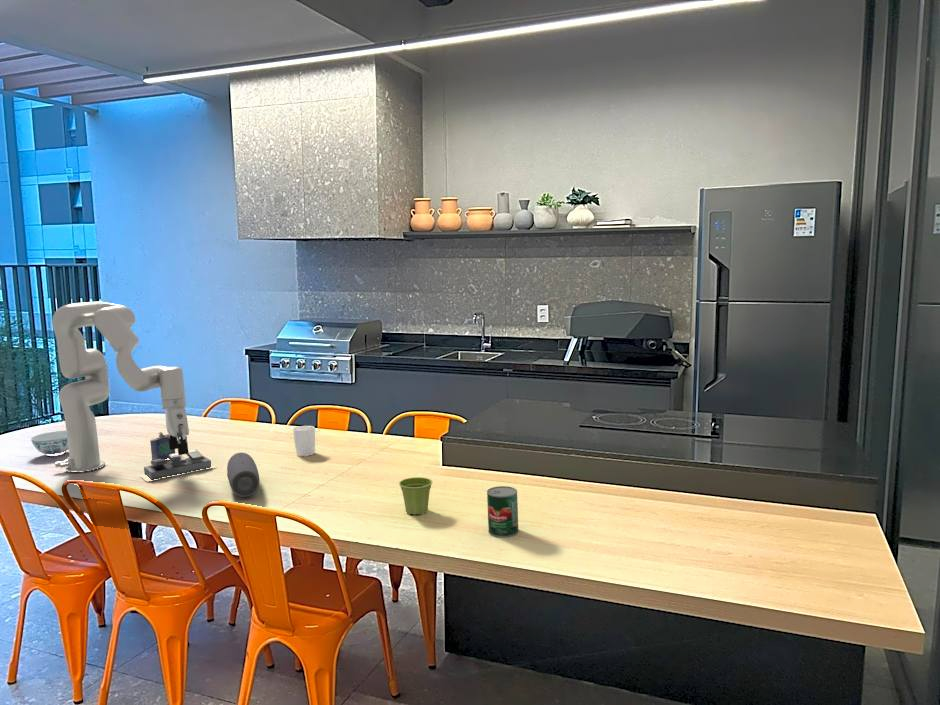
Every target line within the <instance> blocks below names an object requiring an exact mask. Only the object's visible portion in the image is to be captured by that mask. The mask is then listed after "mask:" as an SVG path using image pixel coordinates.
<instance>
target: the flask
mask: <svg viewBox="0 0 940 705" xmlns="http://www.w3.org/2000/svg"><path fill="white" fill-rule="evenodd" d="M168 434H169V433H168ZM168 434H167V433H166V434H163V432H162V431H160V432H159V433H157V435H158V437H156V438H152V439H150V442H149V443H150V452H151V461H153V460H158V459H167V458H169V455H170V454H175V453H176V449H173V450H170V447H169V437H168Z"/></svg>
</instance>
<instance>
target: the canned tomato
mask: <svg viewBox="0 0 940 705" xmlns="http://www.w3.org/2000/svg"><path fill="white" fill-rule="evenodd" d="M486 495H487V498H486V500H487V501H486V502H487V505H486V506H487V523H488V524H487V525H488V526H487V527H488V534H489V535H490V536H493V537H495V538H510V537H515V536H516V535H518V534H519V533H520V532H519V506H518V502H519V501H518V490H517V488H515V487H512V486H508V485H507V486H506V485H505V486H504V485H503V486H502V485H501V486H494V487H493V486H492V487H490V488H488V489H487V491H486Z"/></svg>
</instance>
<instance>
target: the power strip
mask: <svg viewBox="0 0 940 705" xmlns="http://www.w3.org/2000/svg"><path fill="white" fill-rule="evenodd" d="M184 458H185V459H186V463H182V464H177V465H175V464H174V463H173V462H172V461H171V460H169V461H167V462H168V463H167V464H162V465H157V466H156V465H148V466H143V472H144V473H143V474H145V475H147V476H148V477H149V478H150V479H151V480H154V479H159V478H162V477H167V476H172V475H177V474H182V473H187V472H191V471H196V470H200V469H206V468H210V467H211V464H212V460H211V459H210V458H208V457H206V456H204V455H203V459H202V460H197V461H192V460H191V459H190V458H189V457H187V458H186V457H184Z"/></svg>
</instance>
